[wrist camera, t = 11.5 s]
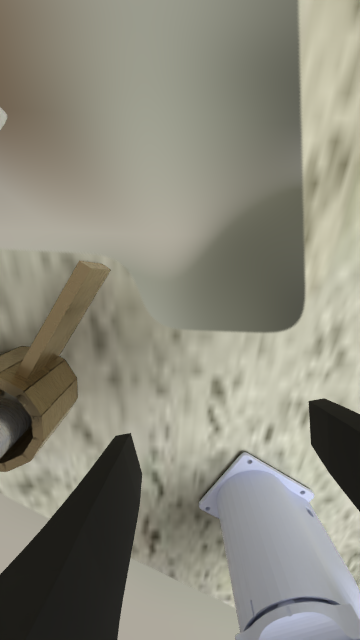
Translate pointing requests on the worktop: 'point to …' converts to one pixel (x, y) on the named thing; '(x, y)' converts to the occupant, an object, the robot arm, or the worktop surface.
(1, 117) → the skincare box
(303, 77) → the worktop surface
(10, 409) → the hinge pin
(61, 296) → the hinge
